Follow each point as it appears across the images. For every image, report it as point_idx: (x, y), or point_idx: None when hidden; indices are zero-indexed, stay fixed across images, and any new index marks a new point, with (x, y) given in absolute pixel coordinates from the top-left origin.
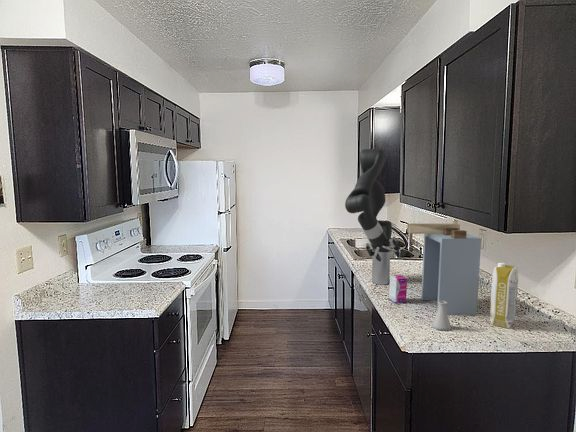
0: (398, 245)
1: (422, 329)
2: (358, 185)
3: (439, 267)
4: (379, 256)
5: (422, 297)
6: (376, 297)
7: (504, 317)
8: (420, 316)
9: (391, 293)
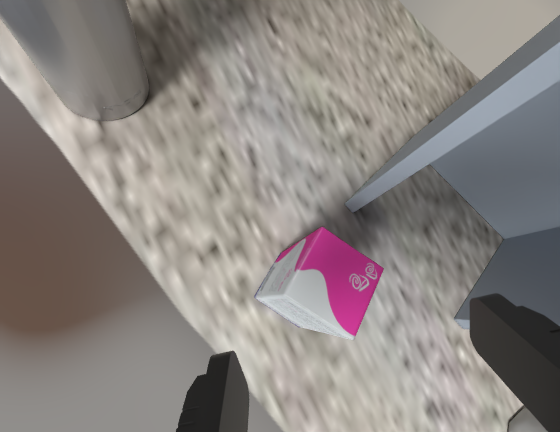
0: None
1: None
2: None
3: None
4: (231, 420)
5: (356, 208)
6: (193, 309)
7: None
8: (438, 398)
9: (280, 311)
